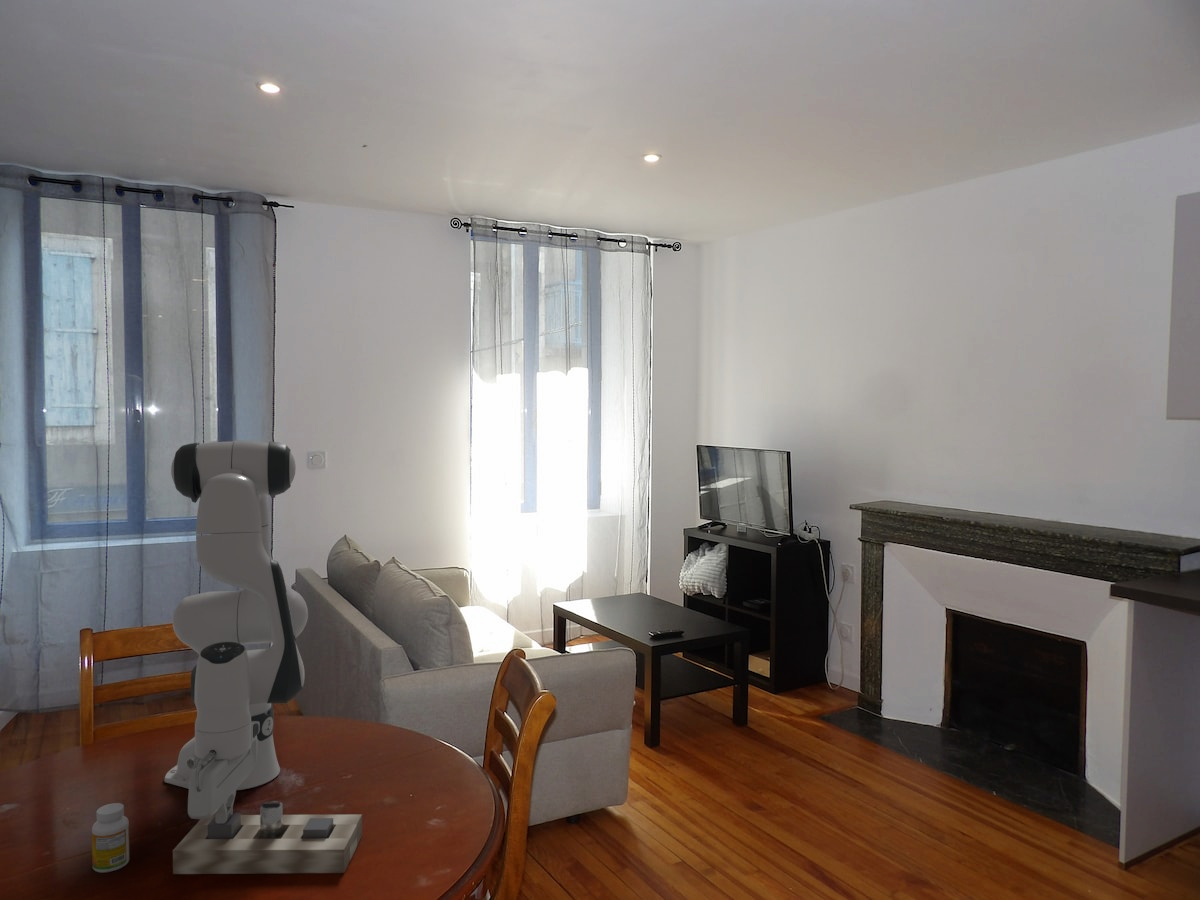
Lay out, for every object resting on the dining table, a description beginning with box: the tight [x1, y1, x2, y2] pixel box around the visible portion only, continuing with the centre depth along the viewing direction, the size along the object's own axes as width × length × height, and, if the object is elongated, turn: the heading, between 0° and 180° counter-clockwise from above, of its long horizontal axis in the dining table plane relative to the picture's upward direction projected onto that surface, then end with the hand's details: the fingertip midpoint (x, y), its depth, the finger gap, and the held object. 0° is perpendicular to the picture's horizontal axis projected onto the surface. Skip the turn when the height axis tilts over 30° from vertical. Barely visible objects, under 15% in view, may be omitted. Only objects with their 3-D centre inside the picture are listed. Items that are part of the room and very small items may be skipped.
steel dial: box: [259, 800, 284, 839], centre depth 145 cm, size 4×4×6 cm
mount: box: [172, 813, 363, 875], centre depth 146 cm, size 28×12×4 cm, turn 92°
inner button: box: [208, 812, 242, 839], centre depth 145 cm, size 4×4×5 cm
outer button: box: [303, 818, 333, 839], centre depth 146 cm, size 4×4×5 cm
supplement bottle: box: [91, 802, 130, 874], centre depth 142 cm, size 5×5×10 cm
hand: (224, 819), depth 145 cm, fingers closed
